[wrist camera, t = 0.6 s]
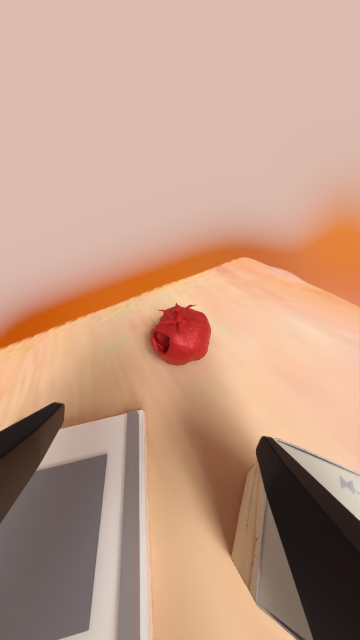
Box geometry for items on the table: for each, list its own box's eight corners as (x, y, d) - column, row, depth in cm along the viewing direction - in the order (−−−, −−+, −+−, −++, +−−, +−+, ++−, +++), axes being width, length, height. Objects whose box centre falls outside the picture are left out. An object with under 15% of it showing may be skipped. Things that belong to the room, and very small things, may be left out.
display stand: (156, 731, 11) (143, 777, 9) (-185, 847, 10) (-287, 928, 8) (145, 414, 24) (139, 404, 22) (5, 447, 23) (-14, 439, 21)
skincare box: (246, 472, 19) (270, 429, 11) (296, 499, 17) (370, 471, 9) (229, 564, 15) (248, 602, 7) (292, 612, 13) (421, 744, 5)
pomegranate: (205, 325, 36) (204, 283, 30) (217, 368, 28) (219, 323, 22) (155, 332, 36) (144, 291, 30) (154, 376, 28) (139, 333, 22)
